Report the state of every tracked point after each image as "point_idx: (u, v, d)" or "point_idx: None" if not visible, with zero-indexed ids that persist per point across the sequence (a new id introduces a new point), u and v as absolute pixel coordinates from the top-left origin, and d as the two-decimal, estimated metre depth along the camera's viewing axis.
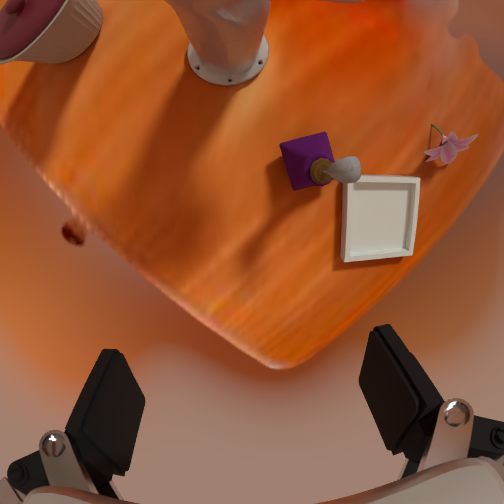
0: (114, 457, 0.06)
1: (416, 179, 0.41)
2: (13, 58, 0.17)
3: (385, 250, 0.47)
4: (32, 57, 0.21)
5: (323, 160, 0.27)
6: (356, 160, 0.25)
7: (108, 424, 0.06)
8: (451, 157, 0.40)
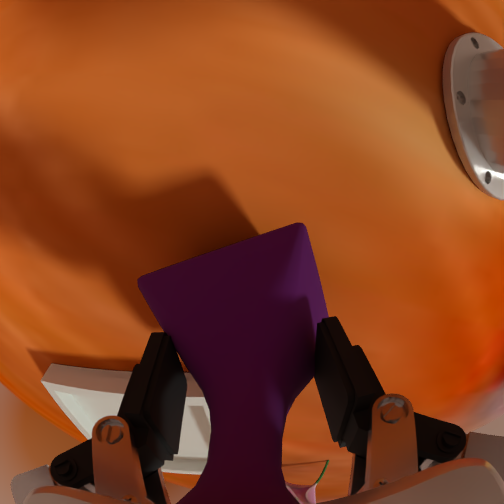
0: (167, 440, 0.07)
1: None
2: None
3: None
4: None
5: None
6: None
7: (163, 405, 0.07)
8: None
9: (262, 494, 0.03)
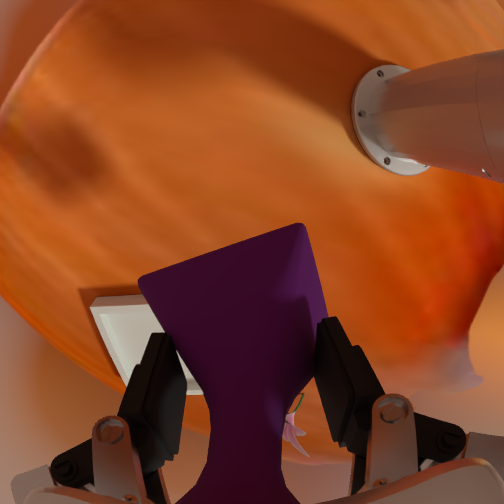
0: (167, 440, 0.07)
1: None
2: None
3: (124, 358, 0.32)
4: None
5: None
6: None
7: (163, 405, 0.07)
8: None
9: (261, 493, 0.03)
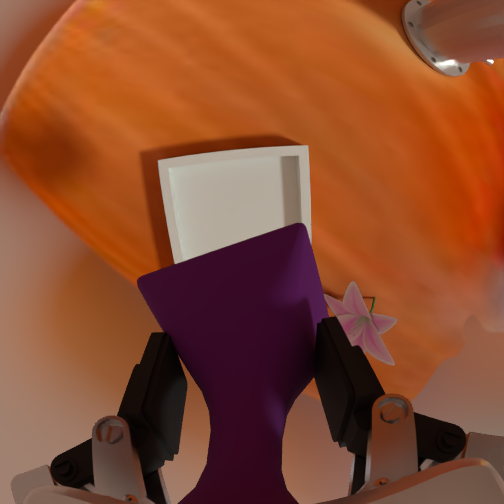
0: (167, 440, 0.07)
1: None
2: None
3: (182, 240, 0.30)
4: None
5: None
6: None
7: (163, 405, 0.07)
8: None
9: (262, 496, 0.03)
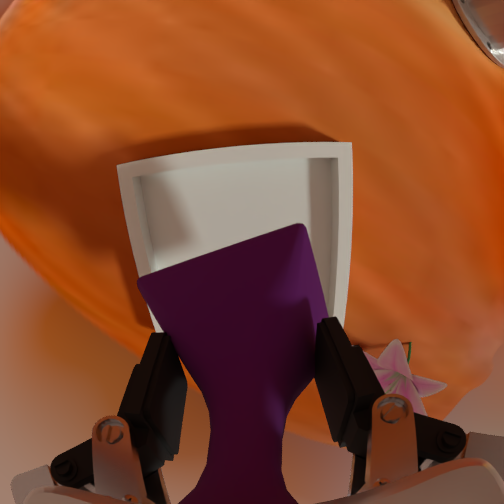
0: (167, 440, 0.07)
1: None
2: None
3: None
4: None
5: None
6: None
7: (163, 405, 0.07)
8: None
9: (262, 496, 0.03)
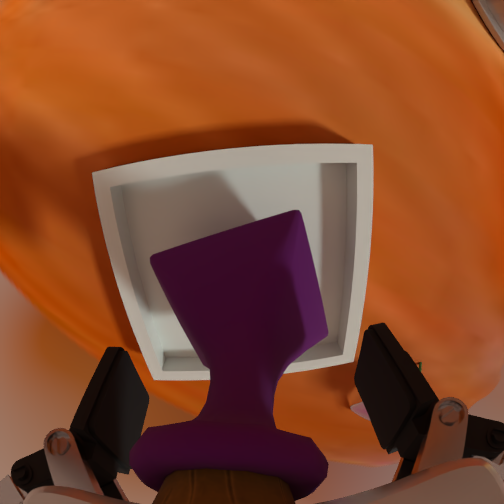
0: (119, 455, 0.06)
1: (351, 354, 0.18)
2: None
3: (147, 306, 0.17)
4: None
5: None
6: None
7: (113, 422, 0.06)
8: None
9: (253, 420, 0.05)
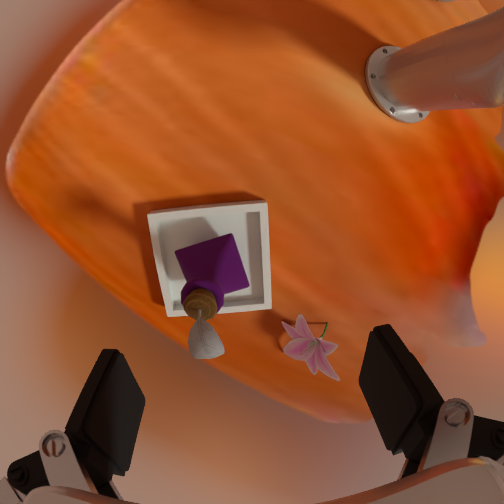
0: (114, 457, 0.06)
1: (269, 303, 0.38)
2: None
3: (168, 276, 0.37)
4: None
5: (214, 309, 0.22)
6: (219, 354, 0.21)
7: (108, 424, 0.06)
8: (295, 353, 0.42)
9: None
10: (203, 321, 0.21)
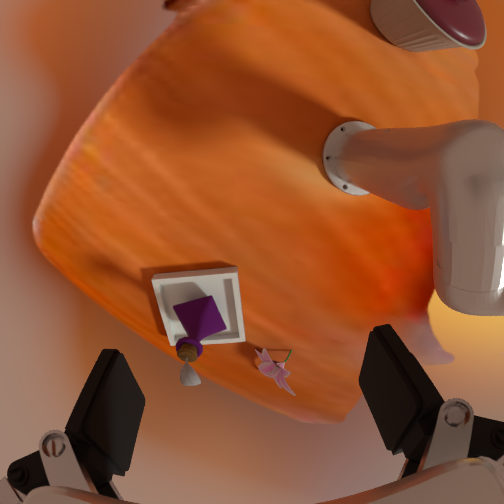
0: (114, 457, 0.06)
1: (243, 338, 0.51)
2: None
3: (169, 318, 0.50)
4: None
5: (195, 357, 0.35)
6: None
7: (108, 424, 0.06)
8: (265, 372, 0.55)
9: None
10: (188, 365, 0.34)
